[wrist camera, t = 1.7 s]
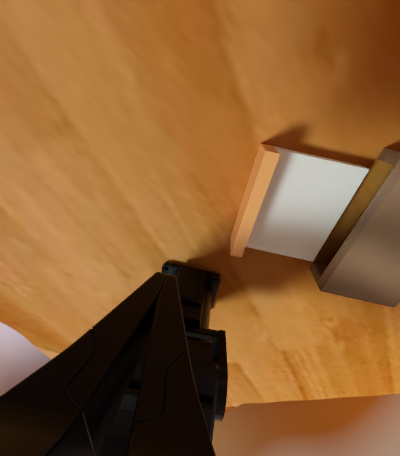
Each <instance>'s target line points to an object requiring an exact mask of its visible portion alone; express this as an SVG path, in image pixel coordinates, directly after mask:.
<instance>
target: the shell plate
mask: <svg viewBox="0 0 400 456" xmlns="http://www.w3.org/2000/svg"><path fill="white" fill-rule="evenodd" d="M368 171H369V169H368V168H366V167H364V166H361V165H357V164H352V163H348V162H343V161H339V160H334V159H330V158H325V157H321V156H316V155H312V154H307V153H302V152H298V151H293V150H289V149H284V148H280V147H275V146H271V145H266V144H262V143H260V146H259V150H258V153H257V156H256V159H255V162H254V165H253V168H252V171H251V175H250V178H249V181H248V184H247V187H246V190H245V193H244V197H243V200H242V203H241V206H240V209H239V212H238V215H237V219H236V222H235V225H234V228H233V231H232V234H231V237H230V255H232V256H237V257H241V258H242V255H243V252H244V250H245V247H249V248H253V249H258V250H262V251H267V252H271V253H276V254H280V255H285V256H289V257H294V258H298V259H303V260H307V261H312V262H313V260H314V259H315V257H316V256H317V254H318V252H319V251H320V249H321V247H322V246H323V244H324V243H325V241H326V239H327V238H328V236H329V234H330V233H331V231H332V230H333V228H334V226H335V225H336V223H337V221H338V220H339V218H340V217H341V215H342V213H343V212H344V210H345V208H346V207H347V205H348V203H349V202H350V200H351V199H352V197H353V195H354V194H355V192H356V190H357V189H358V187H359V186H360V184H361V182H362V181H363V179H364V177H365V176H366V174H367V173H368Z"/></svg>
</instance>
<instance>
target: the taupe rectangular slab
mask: <svg viewBox="0 0 400 456" xmlns="http://www.w3.org/2000/svg"><path fill="white" fill-rule="evenodd" d="M378 159H379V160H382V161H384V162H387V163H389V164H392V165H394V168H393V169H392V171H391V172H390V174H389V175H388V177H387V178H386V180H385V181H384V183H383V184H382V186H381V187H380V189H379V190H378V192H377V193H376V195H375V196H374V198H373V199H372V201H371V202H370V204H369V205H368V207H367V208H366V210H365V211H364V213H363V214H362V216H361V217H360V219H359V220H358V222H357V223H356V225H355V226H354V228H353V229H352V231H351V232H350V234H349V235H348V237H347V238H346V240H345V241H344V243H343V244H342V246H341V247H340V249H339V250H338V252H337V253H336V255H335V256H334V258H333V259H332V261H331V262H330V264H329V265H328V266H326V265H321V264H317V263H313V264H312V266H311V267H310V270H311V272H312V274H313V276H314V278H315V281H316V283H317V285H318V287H319V289H320V291H323V292H327V293H332V294H336V295H341V296H345V297H350V298H354V299H359V300H363V301H367V302H372V303H376V304H381V305H385V306H390V307H395V306H396V305H397V304H398V303H400V151H397V150H392V149H387V148H384V149H383V150H382V152H381V154H380V155H379V157H378Z"/></svg>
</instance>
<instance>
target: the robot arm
mask: <svg viewBox="0 0 400 456" xmlns="http://www.w3.org/2000/svg"><path fill="white" fill-rule="evenodd" d="M166 267H168V268H166ZM215 278H217V279H215ZM219 283H220V275H219V274H216V273H212V272H207V271H203V270H198V269H194V268H189V267H185V266H180V265H176V264H171V263H164V264H163V266H162V272H156V273H155V274H154V275H153V276H152V277H151V278H149V279H148V280H147V281H146V282H145V283H144V284H142V285H141V286H140V287H139V288H138V289H136V290H135V291H134V292H133V293H132V294H131V295H129V296H128V297H127V298H126V299H125V300H124V301H122V302H121V303H120V304H119V305H118V306H117V307H115V308H114V309H113V310H112V311H111V312H110V313H108V314H107V315H106V316H105V317H104V318H103V319H101V320H100V321H99V322H98V323H97V324H96V325H94V326H93V328H92V329H93V330H92V329H90V330H88V331H87V332H86V333H85V334H84V335H83V336H82V337H80V338H79V339H78V340H77V341H75V342H74V343H73V344H72V345H70V346H69V347H68V348H67V349H65V350H64V351H63V352H61V353H60V354H59V355H57V356H56V357H55V358H53V359H52V360H51V361H49V362H48V363H46V364H45V365H44V366H42V367H41V368H39V369H38V370H37V371H35V372H34V373H32V374H31V375H30V376H28V377H27V378H25V379H24V380H23V381H21V382H20V383H18V384H17V385H16V386H14V387H13V388H11V389H10V390H9V391H7V392H6V393H4V394H3V395H2V396H0V456H216V455H215V452H214V449H213V446H212V437H213V428H214V420H217V421H222V420H223V417H224V413H225V406H226V397H227V381H228V370H227V353H226V337H225V331H223V330H219V331H217V330H211V329H209V319H210V310H211V307H212V304H213V301H214V298H215V295H216V292H217V289H218V286H219Z"/></svg>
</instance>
